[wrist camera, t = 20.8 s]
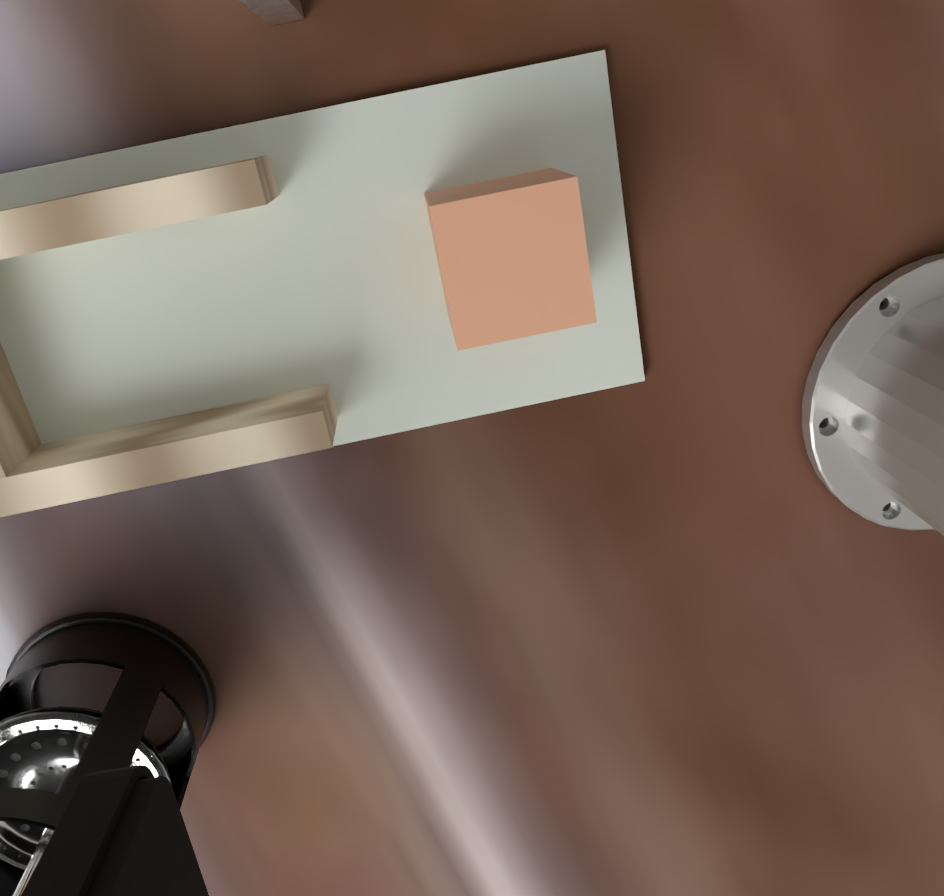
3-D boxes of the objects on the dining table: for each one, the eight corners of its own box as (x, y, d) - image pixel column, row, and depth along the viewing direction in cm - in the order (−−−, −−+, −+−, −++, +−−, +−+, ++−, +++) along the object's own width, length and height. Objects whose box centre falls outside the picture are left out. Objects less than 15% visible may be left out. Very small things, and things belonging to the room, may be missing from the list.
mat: (602, 50, 32) (604, 49, 32) (642, 378, 37) (644, 380, 37) (-98, 194, 32) (-104, 195, 32) (33, 505, 37) (30, 509, 36)
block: (551, 167, 33) (577, 176, 29) (569, 294, 35) (597, 322, 30) (423, 193, 33) (429, 206, 28) (449, 319, 35) (457, 350, 30)
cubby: (267, 154, 32) (254, 158, 29) (337, 417, 36) (332, 447, 33) (-90, 228, 32) (-144, 241, 29) (19, 484, 36) (-18, 521, 33)
